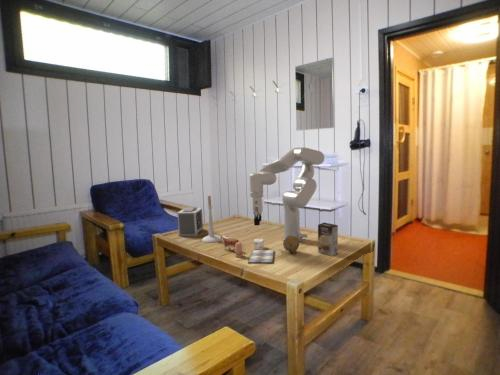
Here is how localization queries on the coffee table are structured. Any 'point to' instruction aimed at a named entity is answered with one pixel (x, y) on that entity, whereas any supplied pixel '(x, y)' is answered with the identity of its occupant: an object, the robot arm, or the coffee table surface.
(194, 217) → the alarm clock
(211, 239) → the candlestick
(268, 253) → the board
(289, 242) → the natural sponge
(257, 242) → the die
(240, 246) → the pawn
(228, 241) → the bull figurine
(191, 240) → the coffee table surface
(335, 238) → the coffee box
